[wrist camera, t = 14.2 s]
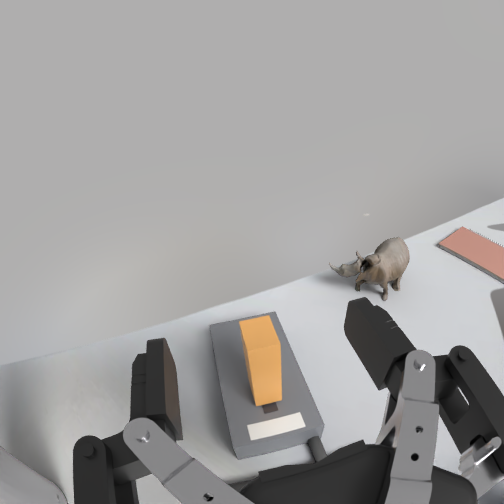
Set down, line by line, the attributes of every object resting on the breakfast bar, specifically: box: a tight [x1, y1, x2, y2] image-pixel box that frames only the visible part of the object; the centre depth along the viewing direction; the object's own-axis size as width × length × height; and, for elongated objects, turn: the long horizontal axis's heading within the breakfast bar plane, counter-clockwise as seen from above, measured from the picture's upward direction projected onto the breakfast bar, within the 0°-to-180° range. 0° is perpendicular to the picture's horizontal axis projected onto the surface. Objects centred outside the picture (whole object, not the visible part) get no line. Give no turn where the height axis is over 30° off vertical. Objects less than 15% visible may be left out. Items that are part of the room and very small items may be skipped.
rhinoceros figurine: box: [329, 237, 410, 301], centre depth 51 cm, size 8×14×15 cm
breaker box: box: [210, 312, 324, 459], centre depth 36 cm, size 10×20×4 cm, turn 12°
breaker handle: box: [239, 315, 282, 406], centre depth 30 cm, size 3×4×10 cm
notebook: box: [439, 227, 504, 283], centre depth 55 cm, size 27×17×2 cm, turn 30°
